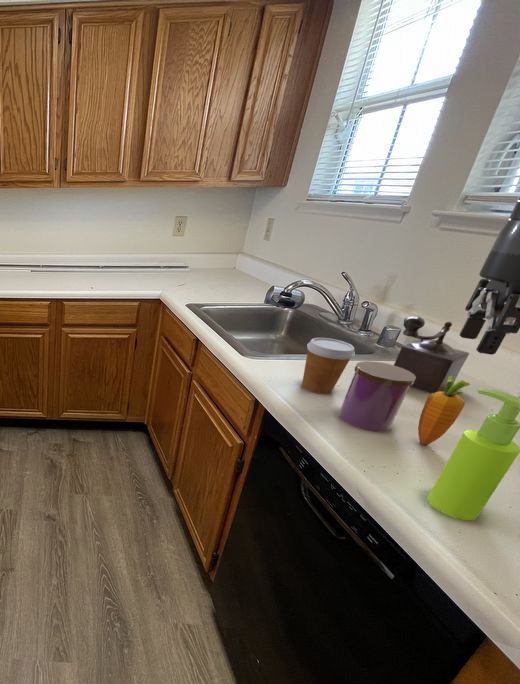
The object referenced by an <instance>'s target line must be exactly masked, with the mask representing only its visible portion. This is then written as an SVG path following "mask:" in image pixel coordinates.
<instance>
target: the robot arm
mask: <svg viewBox="0 0 520 684" xmlns="http://www.w3.org/2000/svg"><path fill="white" fill-rule="evenodd" d="M479 276H480V277H481V278H480V280H479V281H478V283H477V285H476V287H475V288H474V291H473V293H472V294H471V297H470V298H469V300H468V302H467V304H466V306H465V311H467V313H466V317H467V319H466V320H465V323H464V325H463V326H462V329H461V330H460V333H459V336H460V337H461V339H468V340H476V339H477V338H478V336H479V335H480V332H481V331H482V329H483V327H484V325H485V323H486V321H487V320H488V321H487V327H486V330H485V332H484V333H483V336H482V337H481V339H480V341H479V343H478V345H477V347H476V352H478V353H479V354H485V355H495V354H496V353H497V352H498V350H499V348H500V346H501V344H502V343H503V341H504V339H505V338H506V336H507V335H510V334H517V333H518V332H519V331H520V196H519V197H518V198H517V201H516V203H515V205H514V207H513V209H512V211H511V213H510V216H509V217H508V219H507V221H506V222H505V224H504V226H502V228H501V230H500V231H499V232H498V234H497V237H496V239H495V241H494V243H493V245H492V247H491V249H490V251H489V253H488V255H487V257H486V259H485V261H484V263H483V265H482V267H481V269H480V271H479ZM486 319H487V320H486Z"/></svg>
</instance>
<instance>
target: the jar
mask: <svg viewBox="0 0 520 684" xmlns="http://www.w3.org/2000/svg"><path fill="white" fill-rule="evenodd" d="M415 379H416V376H415V375H414V374H413V373H411V372H410V371H408V370H405V369H403V368H400V367H397V366H394V364H390V363H385V362H381V361H369V360H367V361H366V360H365V361H364V360H363V361H359V362H357V363H356V364H355V367H354V374H353V377H352V379H351V382H350V385H349V387H348V388H347V392H346V394H345V397H344V400H343V402H342V405H341V407H340V410H339V412H338V416H339V418H340V419H341V420H342V421H344V422H345V423H347V424H349V425H351V426H353V427H356V428H358V429H362V430H365V431H370V432H376V433H383V432H388V431H389V430H390V429H391V427H392V425H393V423H394V422H395V419H396V416H397V415H398V412H399V410H400V408H401V406H402V404H403V402H404V400H405V398H406V396H407V393H408V391H409V389H410V387H411V386H410V385H412V384H413V383H414V381H415Z"/></svg>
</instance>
